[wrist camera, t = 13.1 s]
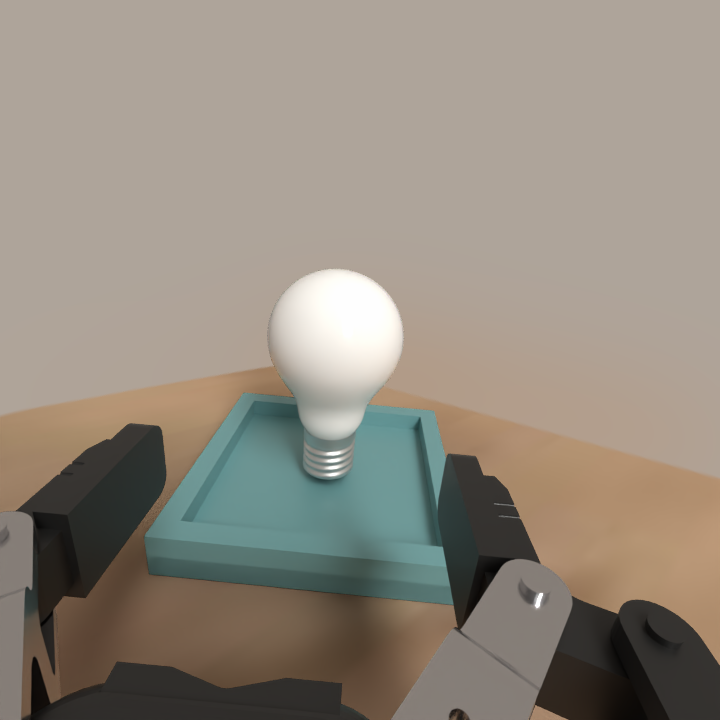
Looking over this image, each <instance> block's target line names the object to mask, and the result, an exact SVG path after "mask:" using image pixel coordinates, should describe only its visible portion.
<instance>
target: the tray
mask: <svg viewBox="0 0 720 720" xmlns="http://www.w3.org/2000/svg"><path fill="white" fill-rule="evenodd" d="M303 448H304V426H303V425H302V423H301V420H300V417H299V413H298V408H297V403H296V400H295V398H294V397H284V396H274V395H263V394H253V393H243V394H242V396H241V397H240V399H239V400H238V402H237V403H236V405H235V406H234V407H233V409H232V410H231V412H230V413H229V415H228V416H227V418H226V419H225V420H224V422H223V423H222V425H221V426H220V428H219V429H218V431H217V432H216V433H215V435H214V436H213V438H212V439H211V441H210V442H209V444H208V445H207V446H206V448H205V449H204V451H203V452H202V454H201V455H200V456H199V458H198V459H197V461H196V462H195V464H194V465H193V467H192V468H191V469H190V471H189V472H188V474H187V475H186V477H185V478H184V480H183V481H182V482H181V484H180V485H179V487H178V488H177V490H176V491H175V493H174V494H173V495H172V497H171V498H170V500H169V501H168V503H167V504H166V506H165V507H164V508H163V510H162V511H161V513H160V514H159V516H158V517H157V519H156V520H155V521H154V523H153V524H152V526H151V527H150V529H149V530H148V532H147V533H146V534H145V536H144V541H145V548H146V555H147V563H148V570H149V574H152V575H162V576H172V577H182V578H192V579H202V580H212V581H221V582H231V583H241V584H251V585H261V586H271V587H281V588H291V589H301V590H311V591H320V592H330V593H340V594H350V595H360V596H370V597H380V598H390V599H400V600H409V601H419V602H429V603H439V604H449V605H454V604H453V599H452V594H451V588H450V583H449V578H448V572H447V567H446V561H445V556H444V551H443V545H442V540H441V535H440V529H439V524H438V498H439V493H440V488H441V482H442V477H443V472H444V466H445V461H446V457H445V453H444V449H443V445H442V441H441V437H440V433H439V429H438V425H437V421H436V417H435V413H434V411H430V410H420V409H409V408H399V407H388V406H378V405H367V408H366V410H365V414H364V417H363V420H362V422H361V424H360V426H359V427H358V428H357V430H356V437H355V444H354V457H353V467H352V470H351V471H350V472H349V473H348V474H347V475H345V476H343V477H341V478H338V479H332V480H326V479H319V478H316V477H314V476H312V475H310V474H309V473H308V472H307V471H306V470H305V469H304V467H303V460H304V459H303V454H304V451H303Z"/></svg>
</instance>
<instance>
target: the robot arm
mask: <svg viewBox="0 0 720 720" xmlns="http://www.w3.org/2000/svg"><path fill="white" fill-rule="evenodd" d="M165 481H166V465H165V455H164V445H163V435H162V430H161V428H160V427H159V426H154V425H144V424H133V423H130V424H128V425H126V426H125V427H124V428H123V429H122V430H121V431H120V432H119V433H117V434H116V435H115V436H114V437H113V438H112V439H111V440H108V439H106V440H104V441H102V442H100V443H98V444H96V445H94V446H92V447H90V448H88V449H87V450H85V451H84V452H83V453H82V454H81V455H80V456H79V457H77V458H76V459H75V460H74V461H73V463H72V464H69V465H68V466H67V467H66V468H65V469H64V470H62V471H61V474H60V475H57V476H56V477H54V478H53V479H52V480H51V481H50V482H49V483H48V484H46V485H45V486H44V487H43V488H42V489H41V490H39V491H38V492H37V493H36V494H35V495H34V496H33V497H31V498H30V499H29V500H28V501H27V502H26V503H25V504H23V505H22V506H21V507H20V508H19V509H18V510H16V511H10V512H1V513H0V720H369V719H368V718H366V717H365V716H364V715H362V714H360V713H359V712H357V711H355V710H354V709H352V708H350V707H348V706H345V705H343V704H341V692H342V683H333V682H323V681H312V680H302V679H292V678H284V679H279V680H273V681H268V682H262V683H257V684H251V685H246V686H240V687H235V688H227V689H226V688H220V687H217V686H215V685H213V684H211V683H208V682H206V681H204V680H201V679H199V678H197V677H194V676H192V675H190V674H187V673H185V672H183V671H180V670H178V669H176V668H173V667H167V666H157V665H146V664H136V663H126V662H117V663H116V664H115V666H114V668H113V670H112V671H111V673H110V675H109V677H108V679H107V680H106V682H105V683H102V684H98V685H94V686H91V687H88V688H84V689H82V690H79V691H77V692H74V693H72V694H69V695H67V696H65V697H63V698H61V692H60V674H59V651H58V628H57V614H56V609H55V606H56V605H57V604H58V603H59V601H60V600H61V599H62V598H63V596H69V597H80V598H86V597H87V595H88V594H89V592H90V591H91V590H92V588H93V587H94V586H95V584H96V583H97V581H98V580H99V579H100V577H101V576H102V575H103V573H104V572H105V570H106V569H107V568H108V566H109V565H110V564H111V562H112V561H113V559H114V558H115V557H116V555H117V554H118V553H119V551H120V550H121V548H122V547H123V546H124V544H125V543H126V542H127V540H128V539H129V537H130V536H131V535H132V533H133V532H134V531H135V529H136V528H137V526H138V525H139V524H140V522H141V521H142V520H143V518H144V517H145V515H146V514H147V513H148V511H149V510H150V509H151V507H152V506H153V504H154V503H155V502H156V500H157V499H158V498H159V496H160V495H161V493H162V491H163V488H164V485H165ZM519 517H520V516H519V514H518V512H517V509H516V507H514V503H513V500H512V498H511V496H510V494H509V491H508V489H507V488H506V487H505V486H504V485H503V484H502V483H501V482H500V481H499V480H498V479H497V478H496V477H495V476H485V475H483V473H482V470H481V468H480V465H479V462H478V460H477V458H476V456H469V455H458V454H448V455H447V457H446V461H445V466H444V472H443V477H442V482H441V488H440V493H439V498H438V524H439V529H440V535H441V540H442V545H443V551H444V556H445V561H446V567H447V572H448V578H449V583H450V588H451V594H452V599H453V604H454V610H455V615H456V620H457V626H458V628H457V627H455V628H453V629H452V630H451V631H450V632H449V634H448V635H447V637H446V638H445V639H444V641H443V642H442V644H441V645H440V647H439V648H438V650H437V651H436V653H435V654H434V656H433V657H432V659H431V660H430V662H429V663H428V665H427V666H426V668H425V669H424V671H423V672H422V674H421V675H420V677H419V678H418V680H417V681H416V683H415V684H414V686H413V687H412V689H411V690H410V692H409V693H408V695H407V696H406V698H405V699H404V701H403V702H402V704H401V705H400V707H399V708H398V710H397V711H396V713H395V714H394V716H393V717H392V719H391V720H530V718H531V715H532V713H533V710H534V707H535V705H537V706H539V707H541V708H544V709H546V710H548V711H550V712H553V713H555V714H557V715H559V716H561V717H564V718H566V719H568V720H720V665H719V664H718V662H717V661H716V659H715V658H714V656H713V655H712V654H711V652H710V651H709V649H708V648H707V646H706V645H705V643H704V642H703V640H702V639H701V638H700V636H699V635H698V634H697V632H696V631H695V630H694V629H693V628H692V627H691V626H690V625H689V624H688V623H686V622H685V621H684V620H683V619H682V618H680V617H679V616H678V615H676V614H675V613H673V612H671V611H670V610H668V609H666V608H664V607H662V606H660V605H658V604H655V603H652V602H649V601H644V600H630V601H627V602H626V603H624V604H623V605H622V606H621V608H620V610H619V613H618V614H616V613H614V612H611V611H608V610H605V609H602V608H600V607H597V606H594V605H591V604H589V603H586V602H583V601H581V600H579V599H577V598H575V597H573V596H571V593H570V591H569V589H568V587H567V586H566V584H565V583H564V582H563V581H562V579H561V578H560V577H559V576H558V575H557V574H555V573H554V572H553V571H551V570H550V569H548V568H547V567H545V566H543V565H541V563H540V561H539V559H538V556H537V554H536V552H535V550H534V547H533V545H532V543H531V541H530V538H529V536H528V534H527V532H526V529H525V527H524V525H523V523H522V521H521V519H520V518H519Z"/></svg>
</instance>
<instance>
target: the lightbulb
mask: <svg viewBox="0 0 720 720" xmlns="http://www.w3.org/2000/svg"><path fill="white" fill-rule="evenodd" d="M267 337H268V348H269V353H270V357H271V360H272V362H273V365H274V367H275V369H276V371H277V373H278V374H279V376H280V377H281V379H282V380H283V382H284V383H285V385H286V386H287V387H288V389H289V390H290V391H291V393H292V394H293V396H294V398H295V400H296V403H297V408H298V413H299V417H300V420H301V423H302V425H303V426H304V448H303V451H304V454H303V459H304V460H303V467H304V469H305V470H306V471H307V472H308V473H309V474H310V475H312V476H314V477H316V478H319V479H326V480H332V479H338V478H341V477H343V476H345V475H347V474H348V473H349V472H350V471H351V470H352V467H353V457H354V444H355V437H356V430H357V428H358V427H359V426H360V424H361V422H362V420H363V417H364V414H365V410H366V408H367V405H368V403H369V402H370V400H371V399H372V398H373V397H374V396H375V395H376V394H377V393H378V391H379V390H380V389H381V388H382V387H383V386H384V385H385V384H386V383H387V381H388V380H389V379H390V377H391V376H392V374H393V372H394V371H395V369H396V367H397V365H398V363H399V360H400V357H401V353H402V349H403V342H404V334H403V324H402V320H401V316H400V313H399V311H398V309H397V306H396V305H395V303H394V301H393V300H392V298H391V297H390V295H389V294H388V293H387V292H386V291H385V290H384V289H383V288H382V287H381V286H380V285H379V284H378V283H377V282H375V281H373V280H372V279H370V278H369V277H367V276H365V275H363V274H360V273H357V272H354V271H351V270H346V269H325V270H320V271H317V272H313V273H310V274H308V275H306V276H304V277H302V278H300V279H299V280H297V281H296V282H294V283H293V284H292V285H290V286H289V287H288V288H287V289H286V290H285V291H284V293H283V294H282V295H281V296H280V298H279V299H278V301H277V303H276V304H275V306H274V309H273V311H272V313H271V317H270V320H269V324H268V335H267Z"/></svg>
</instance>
